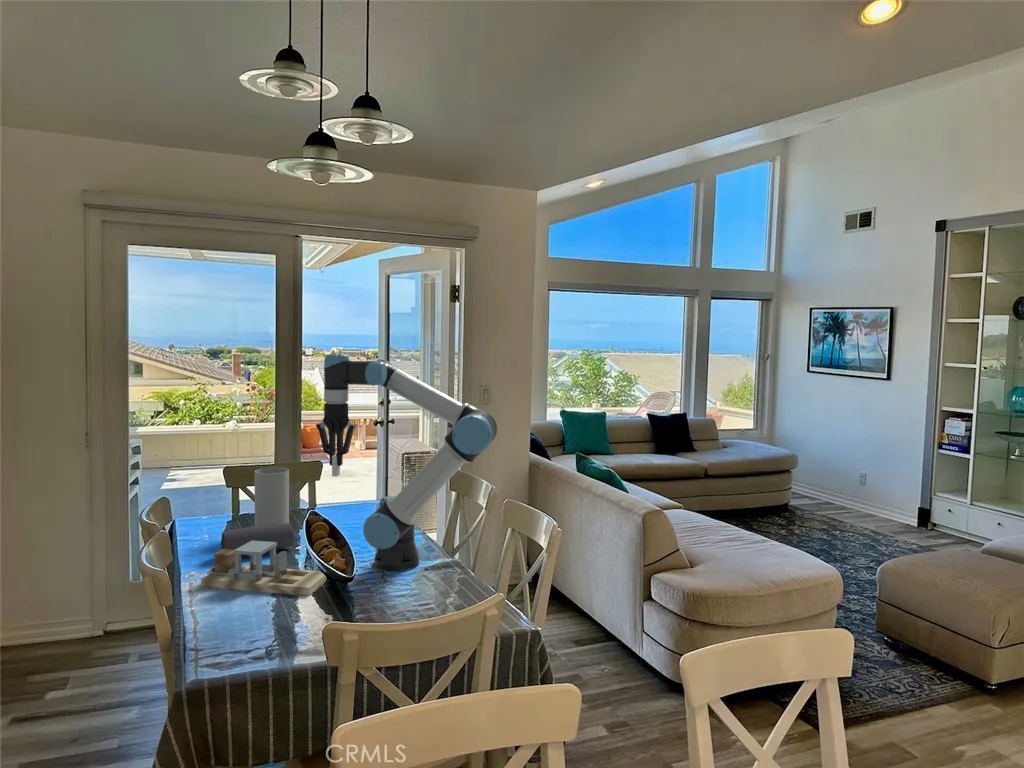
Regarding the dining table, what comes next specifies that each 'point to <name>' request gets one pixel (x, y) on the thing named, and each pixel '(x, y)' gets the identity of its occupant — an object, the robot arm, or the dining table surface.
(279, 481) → the cylinder vase
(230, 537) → the bluetooth speaker
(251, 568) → the tunnel
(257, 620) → the dining table surface
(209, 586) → the platform
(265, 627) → the dining table surface
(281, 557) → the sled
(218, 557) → the block
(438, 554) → the dining table surface
